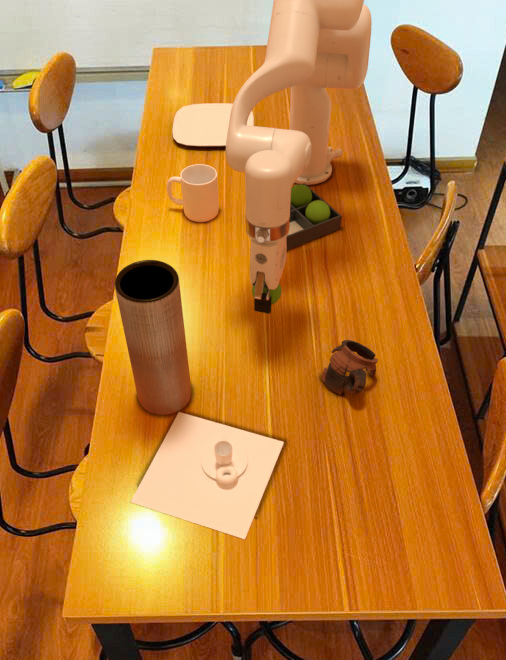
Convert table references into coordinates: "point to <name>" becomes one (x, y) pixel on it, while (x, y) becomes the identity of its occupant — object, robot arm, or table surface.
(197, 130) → the plate
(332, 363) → the pottery mug
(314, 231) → the rack
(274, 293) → the lime
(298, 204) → the lime back left
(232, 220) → the table surface
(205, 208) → the cup
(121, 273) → the vase
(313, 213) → the lime back right
